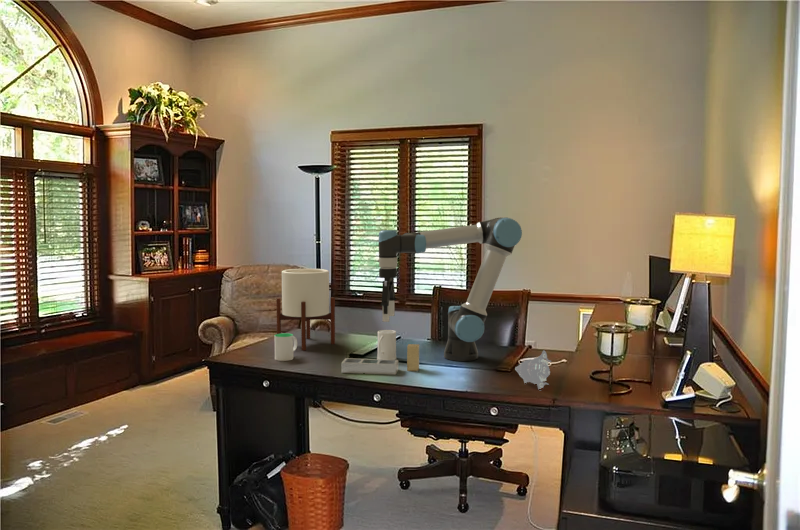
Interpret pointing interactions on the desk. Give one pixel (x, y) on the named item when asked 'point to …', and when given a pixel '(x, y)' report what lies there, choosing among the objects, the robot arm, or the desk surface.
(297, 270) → the plant pot with stand
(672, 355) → the desk surface
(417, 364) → the brass block
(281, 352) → the mug
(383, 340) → the mug
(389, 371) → the grey compartment tray
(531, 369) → the figurine
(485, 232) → the robot arm
